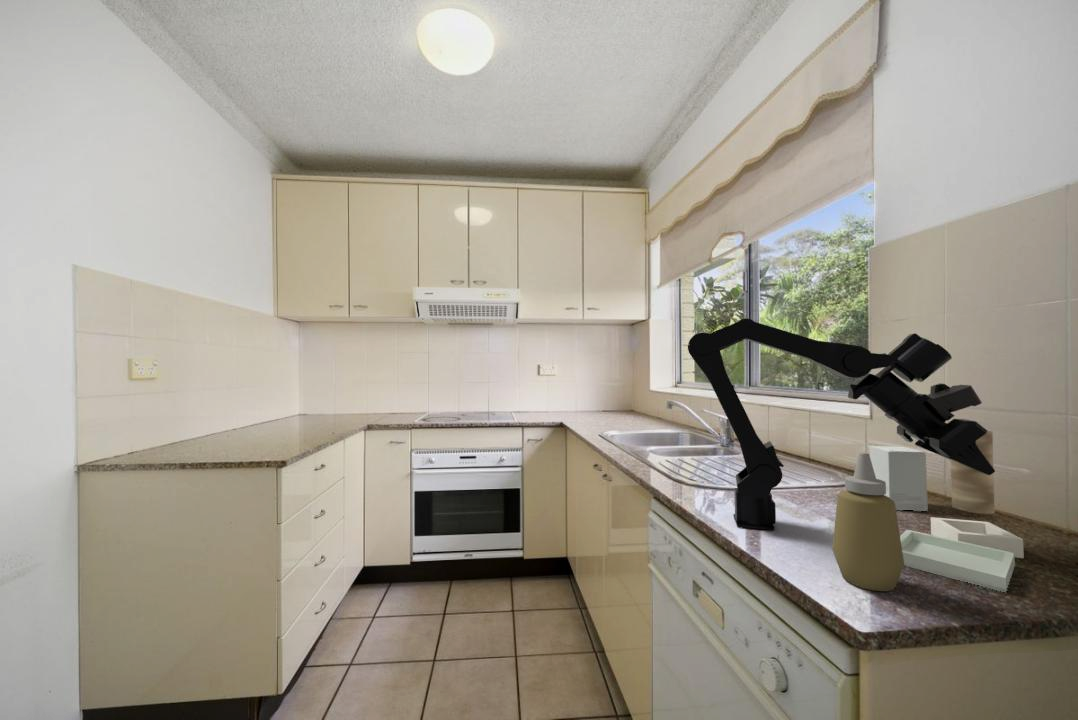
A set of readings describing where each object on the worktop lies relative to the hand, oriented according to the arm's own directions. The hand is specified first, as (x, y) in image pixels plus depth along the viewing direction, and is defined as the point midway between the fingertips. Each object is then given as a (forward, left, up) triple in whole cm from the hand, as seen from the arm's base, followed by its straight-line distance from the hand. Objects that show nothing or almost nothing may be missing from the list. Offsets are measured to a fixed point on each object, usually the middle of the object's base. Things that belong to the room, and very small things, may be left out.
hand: (982, 469), depth 71 cm
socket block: (0, +3, -13) cm, 14 cm away
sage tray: (-8, -7, -13) cm, 17 cm away
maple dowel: (-1, 0, -7) cm, 7 cm away
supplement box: (-2, +25, -14) cm, 28 cm away
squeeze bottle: (-22, -18, -14) cm, 32 cm away
